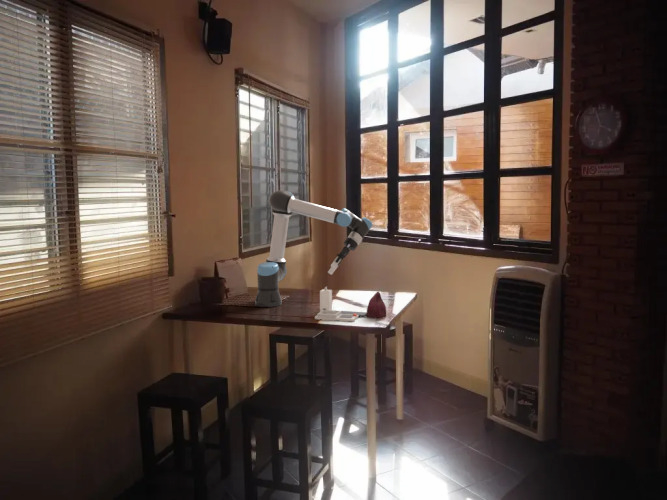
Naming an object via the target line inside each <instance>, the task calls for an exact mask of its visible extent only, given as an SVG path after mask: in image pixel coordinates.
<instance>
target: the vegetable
mask: <svg viewBox="0 0 667 500" xmlns="http://www.w3.org/2000/svg"><path fill="white" fill-rule="evenodd" d="M366 312H367V316H366V317H367V318H369V319H384V318H383V317H385V318H386V317H387V307H386V304H385V302H384V300H383V298H382V295H381V292H380V291H376V292H375V294H374V295H373V296H372V297H371V298H370V300H369V302H368V305H367V308H366Z"/></svg>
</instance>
